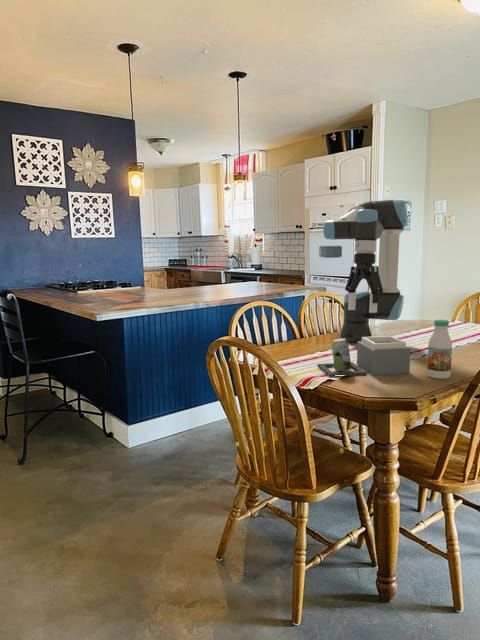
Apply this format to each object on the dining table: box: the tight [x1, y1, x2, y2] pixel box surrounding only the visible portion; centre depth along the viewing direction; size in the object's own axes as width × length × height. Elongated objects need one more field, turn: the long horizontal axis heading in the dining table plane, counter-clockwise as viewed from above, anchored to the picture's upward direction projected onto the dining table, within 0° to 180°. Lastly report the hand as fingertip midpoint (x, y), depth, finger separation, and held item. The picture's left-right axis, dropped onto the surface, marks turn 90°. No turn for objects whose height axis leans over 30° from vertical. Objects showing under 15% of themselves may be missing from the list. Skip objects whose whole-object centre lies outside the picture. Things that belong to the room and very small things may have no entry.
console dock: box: [356, 335, 412, 376], centre depth 176 cm, size 15×14×11 cm
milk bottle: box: [426, 319, 453, 380], centre depth 164 cm, size 8×8×20 cm
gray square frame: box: [316, 361, 368, 377], centre depth 175 cm, size 14×14×1 cm
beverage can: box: [331, 338, 352, 372], centre depth 174 cm, size 6×7×12 cm
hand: (361, 311), depth 173 cm, fingers open, 13 cm apart
